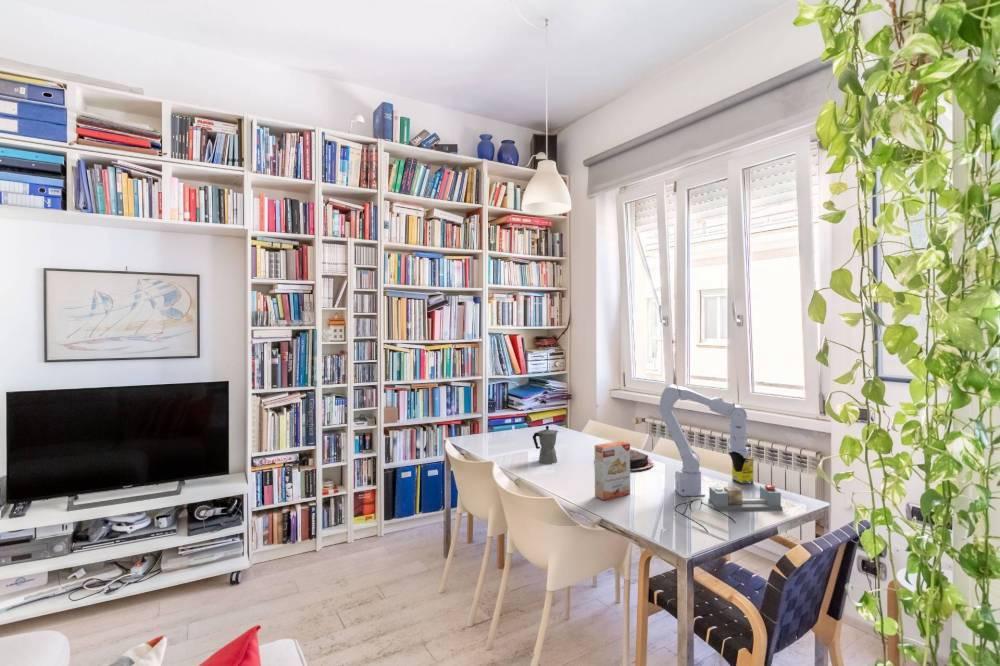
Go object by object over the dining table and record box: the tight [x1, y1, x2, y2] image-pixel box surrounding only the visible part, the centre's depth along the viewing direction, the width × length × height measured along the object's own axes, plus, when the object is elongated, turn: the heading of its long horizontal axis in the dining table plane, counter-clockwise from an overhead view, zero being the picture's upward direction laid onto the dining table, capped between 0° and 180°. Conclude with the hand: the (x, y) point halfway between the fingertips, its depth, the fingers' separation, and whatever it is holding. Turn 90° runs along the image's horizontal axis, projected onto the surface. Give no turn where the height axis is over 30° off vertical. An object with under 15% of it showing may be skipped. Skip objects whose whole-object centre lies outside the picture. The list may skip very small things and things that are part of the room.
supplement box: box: [731, 456, 754, 486], centre depth 206 cm, size 6×6×11 cm
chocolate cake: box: [630, 448, 654, 472], centre depth 237 cm, size 28×28×7 cm
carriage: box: [723, 486, 743, 504], centre depth 181 cm, size 5×4×5 cm
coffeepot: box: [532, 425, 559, 465], centre depth 242 cm, size 15×9×18 cm, turn 121°
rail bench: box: [707, 485, 783, 512], centre depth 181 cm, size 23×9×6 cm, turn 88°
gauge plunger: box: [764, 484, 776, 491], centre depth 180 cm, size 3×3×4 cm
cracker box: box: [594, 440, 631, 501], centre depth 194 cm, size 14×6×21 cm, turn 118°
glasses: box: [674, 498, 737, 533], centre depth 169 cm, size 14×15×5 cm
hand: (738, 471), depth 188 cm, fingers closed
